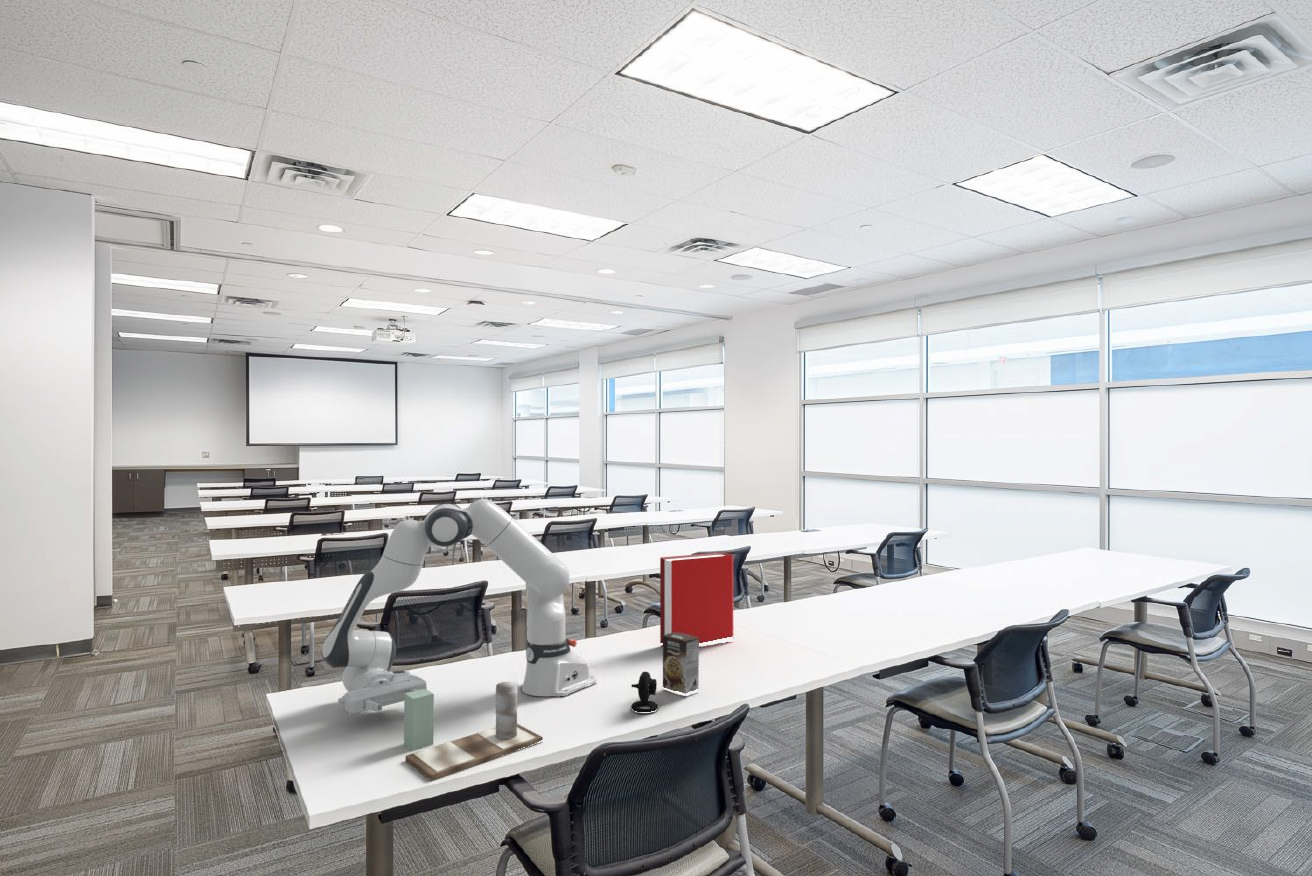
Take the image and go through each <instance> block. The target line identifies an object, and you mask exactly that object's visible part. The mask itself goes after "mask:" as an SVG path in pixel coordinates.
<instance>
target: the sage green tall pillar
mask: <svg viewBox="0 0 1312 876" xmlns="http://www.w3.org/2000/svg"><path fill="white" fill-rule="evenodd" d="M434 695H435V693H434V692H431V691H430V690H428V689H427V690H426V689H425V688H424V689H420V690H416V691H412V692H408V693H404V701H403V703H404V706H403V708H404V709H403V713H404V714H403V715H404V716H403V717H404V718H403V745H404V746H405V747H408V749H409V750H411V751H412V752H413V751H417V750H420V749H421V750H422V749H424V748H425V747H430V746H434V729H435V727H434V717H435V715H434V711H435V710H434V704H435V702H434V700H435V699H434V698H435V696H434ZM423 747H424V748H423Z"/></svg>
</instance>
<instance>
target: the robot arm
mask: <svg viewBox="0 0 1312 876" xmlns="http://www.w3.org/2000/svg"><path fill="white" fill-rule="evenodd" d="M524 527H525V526H523V525H521V523H520V522H518V521H517V520H516V519H515V518H514V517H513V516H511V515H510V514H509V513H508V512H507V511H506V510H504V509H503V508H502V507H500V506H499V505H497V504H496V503H494V502H492V501H491V500H490V499H487V498H481V499H480V498H479V499H478V500H475V501H473V502H472V503H471V504H470V505H469V506H467V507H466V508H461V507H460V506H459V505H457V504H456V503H452V502H443V503H440V504H438V505H435V506H434V507H433V508H432V509H431V510H430V511H429V512H428V513H426V515H424V516H423V517H422V518H421V520H416V519H404V520H401V521H400V522H398V523H397V524H396V525H395V527H394V528H393V530H392V532H391V533H390V536H389V537H388V540H387V541H386V544H385V547H384V550H383V553H382V556H381V558H380V560H379V561H378V563H377V564H376V565H375V567H373V569H372V570H370V571H368V572H366V573H364V574H363V575H362V576H361V578H360V579H359V581H358V582H357V584H356V586H355V587H354V589H353V591H352V593H351V594H350V597H349V598H348V600H347V602H346V603H345V606H344V607H343V609H342V611H341V613H340V614H339V617H338V619H337V621H336V623H335V624H334V626H333V627H332V628H331V630H330V631H329V633H328V634H327V636H326V638H325V639H324V642H323V645H322V648H321V656H322V659H323V660H324V661H325V663H326V664H327V665H328V666H329V667H331V668H332V669H337V668H339V669H340V668H344V670H343V673H342V676H341V677H342V678H341V679H342V684H343V687H344V688H345V690H346V691H347V692H345V693H344V694H343V695H342V696H341V697H338V699H337V702H338V703H339V704H340V705H343V708H344V710H345V712H346V713H347V714H349V715H354V714H359V713H362V712H366V711H374V712H380V711H382V710H383V707H386V706H389V705H393V704H399V703H401V702H404V693H408V692H412V691H416V690H420V689H424V688H425V689H426V690H428V688H427V687H428V686H427V681H426V680H424V678H421V677H419V676H417V675H414V674H411V672H410V671H409V670H395V671H392V670H391V668H392V666H393V664H394V662H395V659H396V654H397V644H396V642H395V640H394V638H393V636H392V634H391V633H390V632H388V631H380V630H364V629H363V630H361V629H360V630H359V629H356V627H357V625H358V623H359V622H360V620H361V617H362V616H363V614H364V612H365V610H366V608H367V606H368V605H369V604H370V603H371V602H372V601H374V600H375V599H378V598H380V597H382V596H385V595H389V594H393V593H397V592H401V591H404V590H406V589H407V588H409V587H411V586H412V585H414V583H416V581H417V579H418V577H419V576H420V573H421V571H422V568H423V565H424V561H425V558H426V556H427V555H426V554H427V553H428V551H429V549H430V547H432V546H433V545H436V546H438V547H451V546H453V545H456V544H458V543H459V542H461V541H463V540H465V539H467V538H468V537H469V536H473V537H475V538H476V539H477V540H478V541H479V542H481V544H483V545H484V546H485V547H486V548H488V550H489V551H490V552H492V553H493V554H494V555H495V556H496V557H497V558H499V559H500V560H501V561H502V562H503V563H504V564H505V565H506V566H508V568H510V569H511V571H513V572H514V573H515V574H516V575H517V576H518V577H519V578H521V580H522V581H524V582H525V594H526V595H525V596H526V607H527V640H526V643H525V644H526V645H525V655H526V657H525V658H526V666H525V667H526V668H525V674H524V679H523V683H522V687H521V691H522V693H524V694H526V695H530V696H534V697H560V696H564V697H566V696H565V695H567V694H569V693H571V692H573V691H577V690H579V689H581V688H583V687H585V686H587V685H588V684H593V683H595V682H596V681H597V678H596V677H595V676H594V675H592V674H590V672H589V671H590V670H589V667H588V663H587V661H586V660H585V659H584V658H582V657H581V656H579V655H578V654H576V653H575V652H574V651H572V650H571V647H572V648H575V647H577V644H578V641H577V640H576V639H572V638H571V639H568V638H567V637H566V609H565V608H566V607H565V600H564V593H565V592H566V591H567V590H568V588H569V586H570V581H571V580H570V579H571V577H570V572H569V569H568V567H567V566H566V565H565V563H564V562H562V561H561V560H560V559H559V558H558V557H557V556H556V555H555V554H554V553H552V552H551V551H550V549H548V548H547V547H546V546H545V545H544V544H543V543H542V542H540V541H539V540H538V539H537V538H536V537H535V536H534V535H532V534H531V533H530V532H529V531H528V530H527V529H526V528H524ZM390 670H391V671H390ZM595 684H596V683H595ZM593 685H594V684H593ZM581 690H582V689H581ZM579 691H580V690H579ZM577 692H578V691H577ZM567 696H568V695H567Z"/></svg>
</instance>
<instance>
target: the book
mask: <svg viewBox="0 0 1312 876" xmlns="http://www.w3.org/2000/svg"><path fill="white" fill-rule="evenodd" d="M659 564H660V565H659V566H660V567H659V569H660V570H659V571H660V572H659V574H660V575H659V576H660V577H659V578H660V581H659V582H660V583H659V584H660V585H659V587H660V589H659V593H660V596H659V597H660V599H659V600H660V601H659V603H660V604H659V605H660V609H659V612H660V613H659V614H660V615H659V616H660V624H659V625H660V626H659V630H660V631H659V636H660V637H659V638H660V641H659V644H660V643H663V635H666V634H669V633H674V632H679V633H683V634H687V635H691V636H695V637H699V643H703V642H708V641H713V640H717V639H722V638H727V637H732V636H733V637H734V554H732V553H728V552H709V553H697V554H696V553H695V554H685V555H675V556H663V557H660V558H659Z"/></svg>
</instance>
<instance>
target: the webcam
mask: <svg viewBox="0 0 1312 876" xmlns="http://www.w3.org/2000/svg"><path fill="white" fill-rule="evenodd" d="M657 685H658V683H657V679H655V678H652V677H651V674H650V672H648V671H642V672H641V673H640V676H639V679H638V683H636V684H631V688H635V689H637V694H638V697H639V700H636V701H634V702H633V703H631V705H630V709H631V708H632V709H633V710H634V711H637V712H651V711H655V710H656V709H657V708H658V706H659V704H658V703H657V702H655V701H653V700H649V698H650V696H656V694H657ZM641 706H644V707H647V708H643V707H641ZM632 709H631V710H632ZM658 709H659V708H658Z"/></svg>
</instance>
